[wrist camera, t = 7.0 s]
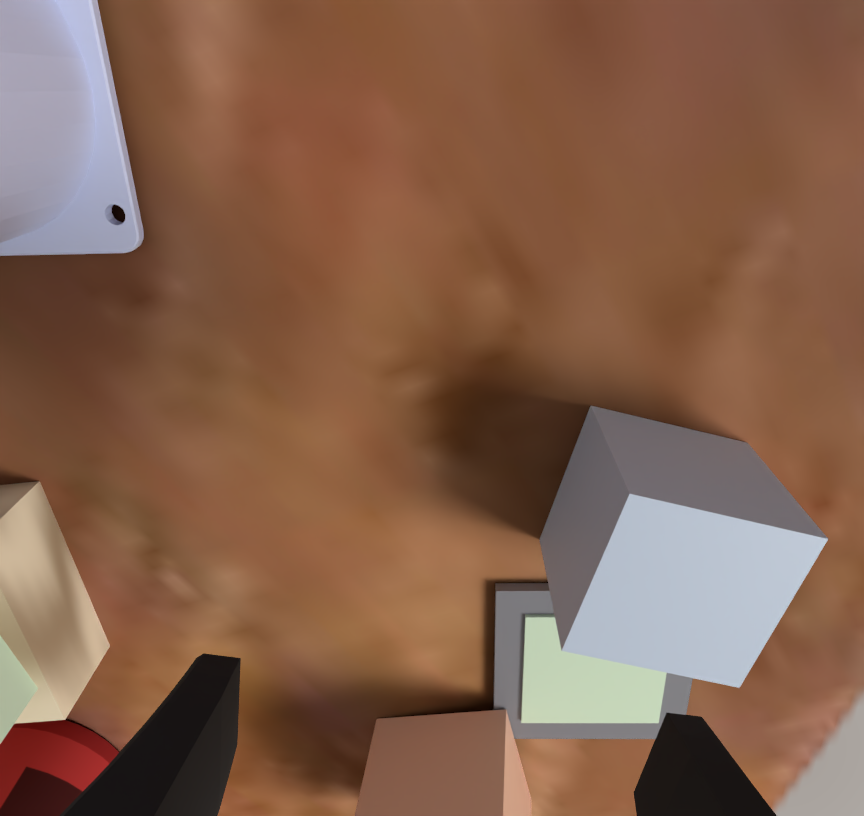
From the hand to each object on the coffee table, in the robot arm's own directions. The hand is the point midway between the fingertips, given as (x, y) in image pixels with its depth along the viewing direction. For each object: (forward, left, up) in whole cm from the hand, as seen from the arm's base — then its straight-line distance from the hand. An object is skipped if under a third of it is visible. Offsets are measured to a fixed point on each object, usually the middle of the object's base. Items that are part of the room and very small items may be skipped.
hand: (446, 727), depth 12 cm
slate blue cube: (+2, +6, -10) cm, 12 cm away
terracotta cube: (+14, 0, -10) cm, 17 cm away
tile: (+9, +5, -10) cm, 15 cm away
